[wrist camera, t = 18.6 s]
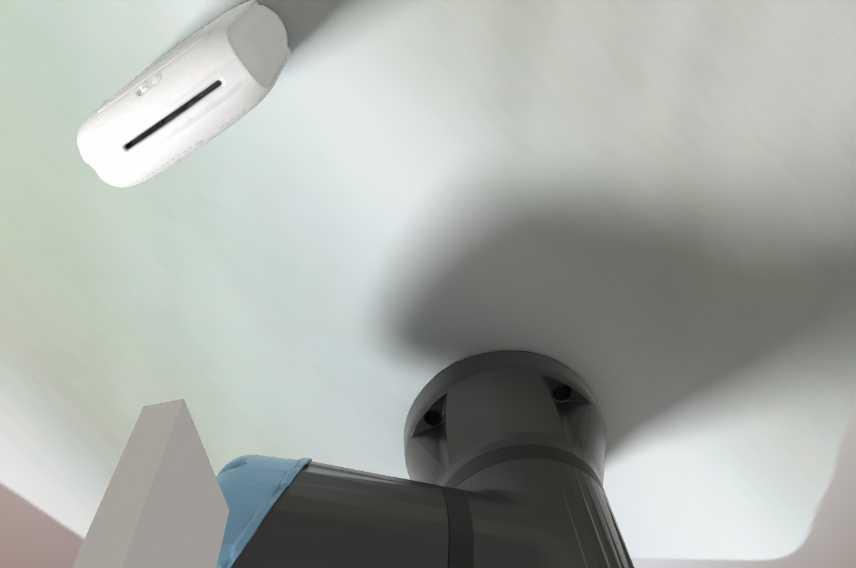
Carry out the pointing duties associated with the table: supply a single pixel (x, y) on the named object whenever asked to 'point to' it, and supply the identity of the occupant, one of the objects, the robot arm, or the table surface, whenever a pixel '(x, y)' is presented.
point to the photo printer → (186, 96)
